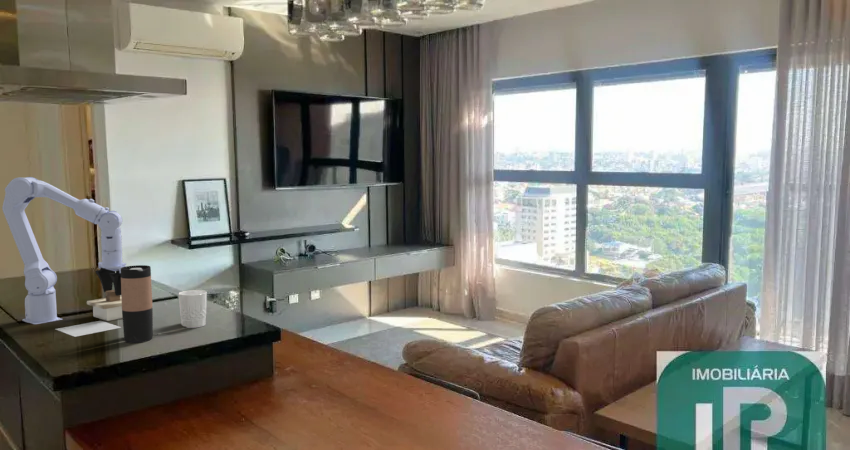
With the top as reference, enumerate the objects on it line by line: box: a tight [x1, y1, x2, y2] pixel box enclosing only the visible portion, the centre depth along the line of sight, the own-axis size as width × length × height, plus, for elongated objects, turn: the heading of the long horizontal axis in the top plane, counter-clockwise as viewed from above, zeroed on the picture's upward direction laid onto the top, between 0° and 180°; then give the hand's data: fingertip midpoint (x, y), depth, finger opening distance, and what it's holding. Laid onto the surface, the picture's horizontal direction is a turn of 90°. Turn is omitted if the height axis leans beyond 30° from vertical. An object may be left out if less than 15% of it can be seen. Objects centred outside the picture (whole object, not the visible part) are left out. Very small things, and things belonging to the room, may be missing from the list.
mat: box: [54, 320, 123, 338], centre depth 185 cm, size 13×13×1 cm
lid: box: [86, 289, 122, 309], centre depth 199 cm, size 11×11×4 cm
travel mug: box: [120, 264, 154, 344], centre depth 174 cm, size 8×8×20 cm
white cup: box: [178, 289, 208, 329], centre depth 190 cm, size 8×8×10 cm
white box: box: [92, 306, 123, 322], centre depth 199 cm, size 9×9×4 cm
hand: (113, 293), depth 199 cm, fingers open, 7 cm apart
